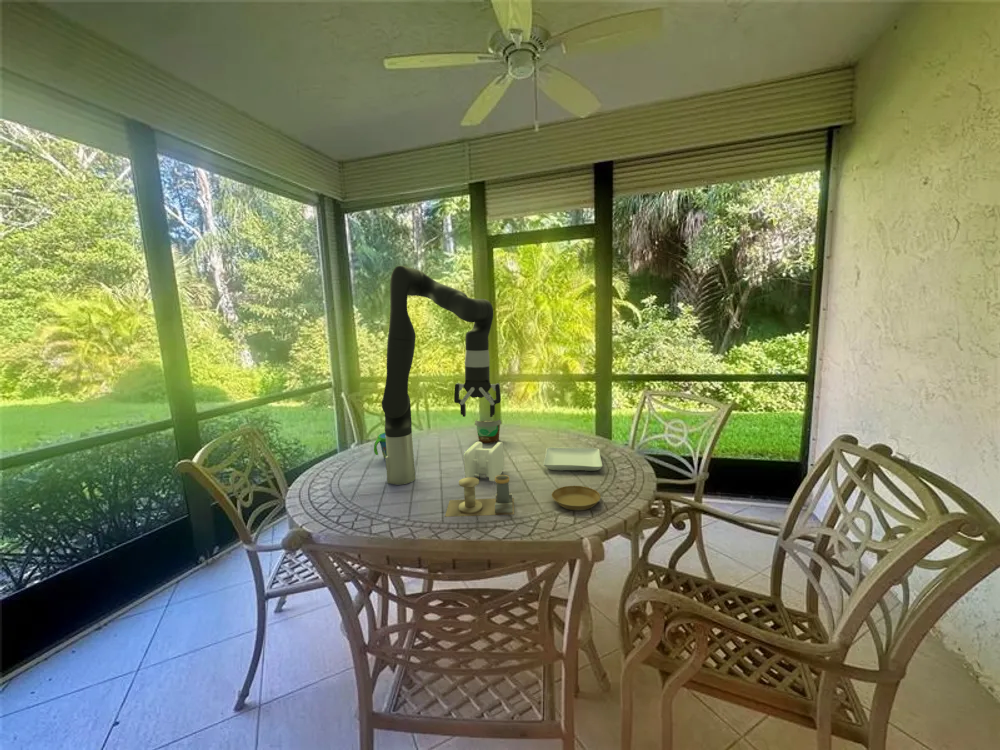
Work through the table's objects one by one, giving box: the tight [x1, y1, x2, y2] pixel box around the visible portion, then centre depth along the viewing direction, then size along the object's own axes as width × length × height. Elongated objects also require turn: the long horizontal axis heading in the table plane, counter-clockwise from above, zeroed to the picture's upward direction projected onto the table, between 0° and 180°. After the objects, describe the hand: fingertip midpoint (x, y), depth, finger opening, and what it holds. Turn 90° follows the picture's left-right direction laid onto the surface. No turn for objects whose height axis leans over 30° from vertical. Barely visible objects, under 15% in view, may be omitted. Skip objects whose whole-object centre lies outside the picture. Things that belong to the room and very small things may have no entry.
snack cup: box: [373, 432, 387, 460], centre depth 181 cm, size 16×10×10 cm
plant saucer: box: [551, 485, 601, 511], centre depth 133 cm, size 15×15×3 cm
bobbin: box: [458, 477, 482, 513], centre depth 129 cm, size 7×7×8 cm
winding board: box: [444, 492, 515, 518], centre depth 130 cm, size 20×11×4 cm, turn 89°
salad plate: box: [542, 446, 603, 472], centre depth 166 cm, size 21×21×3 cm
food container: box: [474, 419, 502, 444], centre depth 197 cm, size 12×6×10 cm, turn 81°
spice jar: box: [494, 474, 510, 503], centre depth 129 cm, size 4×4×9 cm
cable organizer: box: [462, 441, 505, 482], centre depth 156 cm, size 15×11×12 cm
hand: (477, 416), depth 136 cm, fingers open, 8 cm apart
